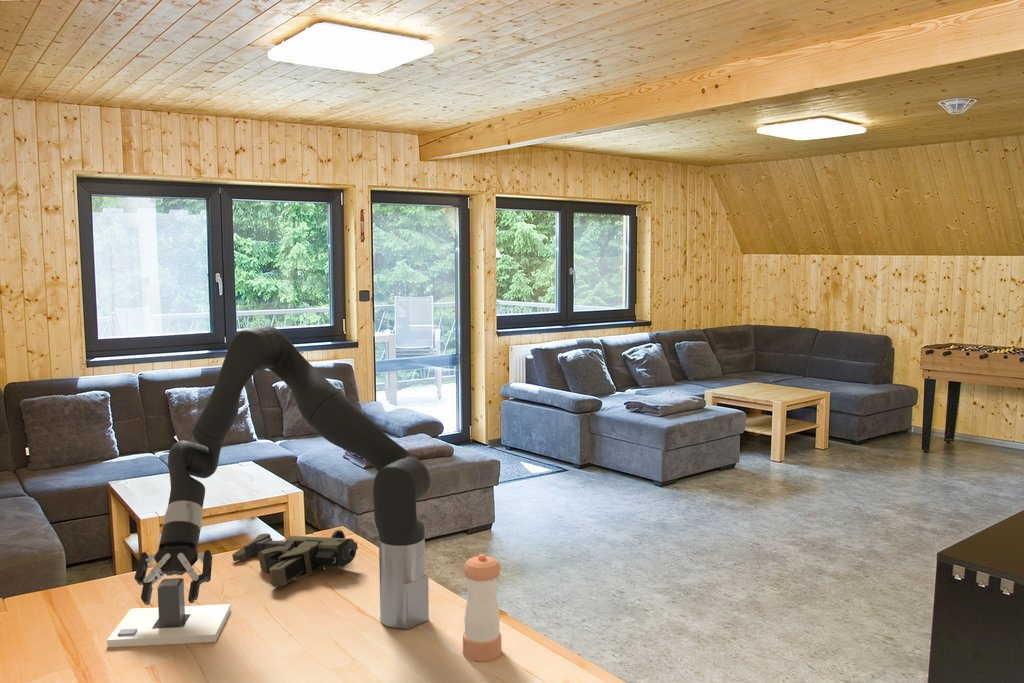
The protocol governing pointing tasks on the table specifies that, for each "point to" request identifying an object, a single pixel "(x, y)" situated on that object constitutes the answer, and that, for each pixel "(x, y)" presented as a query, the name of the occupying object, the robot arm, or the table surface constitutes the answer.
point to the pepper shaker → (482, 610)
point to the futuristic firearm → (298, 555)
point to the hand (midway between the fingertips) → (168, 602)
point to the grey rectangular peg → (171, 603)
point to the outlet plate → (144, 631)
